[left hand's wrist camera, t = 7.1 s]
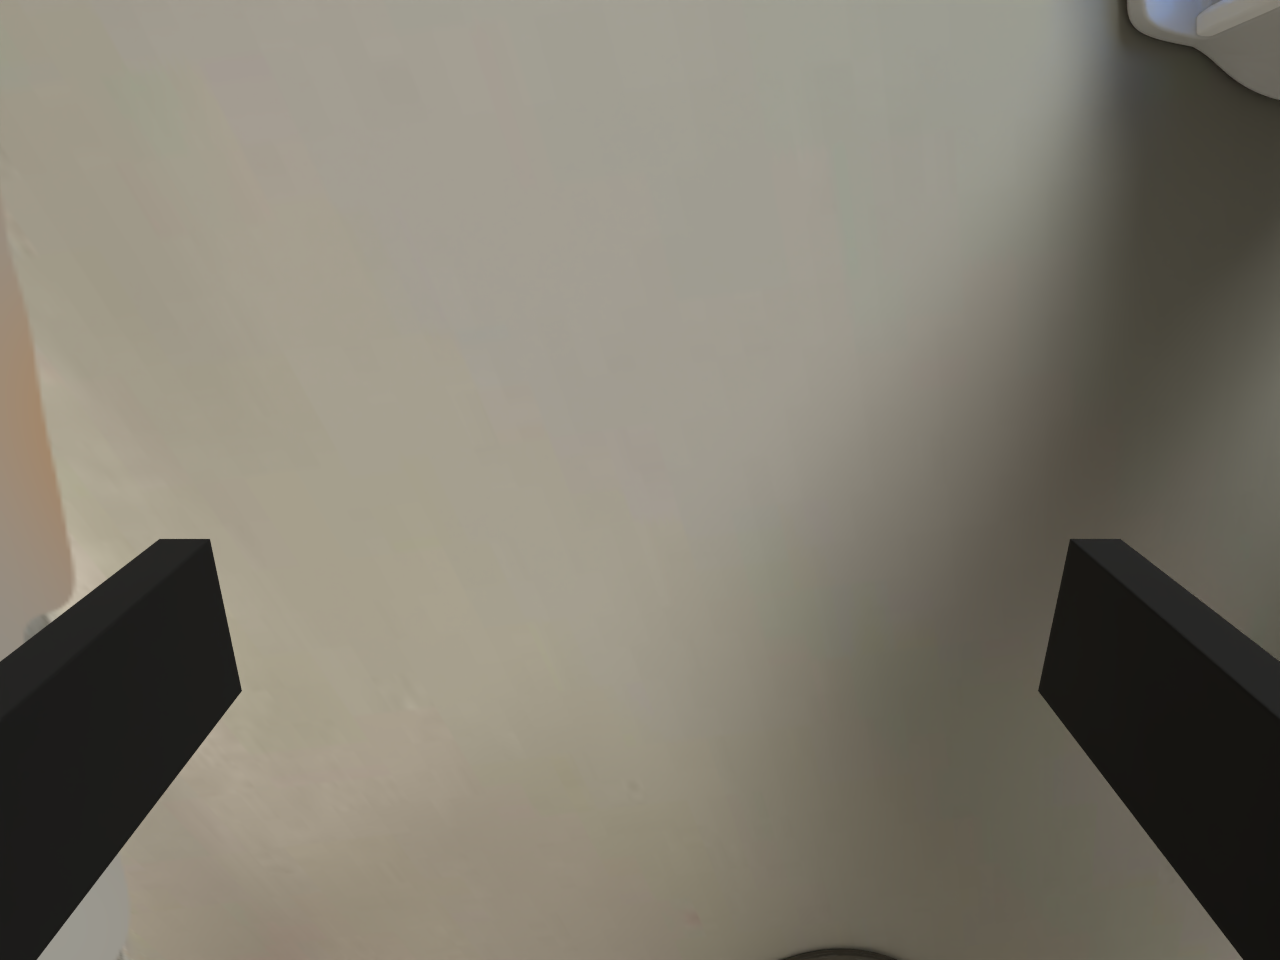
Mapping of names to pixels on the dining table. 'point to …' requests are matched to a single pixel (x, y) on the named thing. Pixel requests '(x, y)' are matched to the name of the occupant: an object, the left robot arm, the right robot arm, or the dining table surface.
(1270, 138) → the dining table surface
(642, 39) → the dining table surface
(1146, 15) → the right robot arm
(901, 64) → the dining table surface
